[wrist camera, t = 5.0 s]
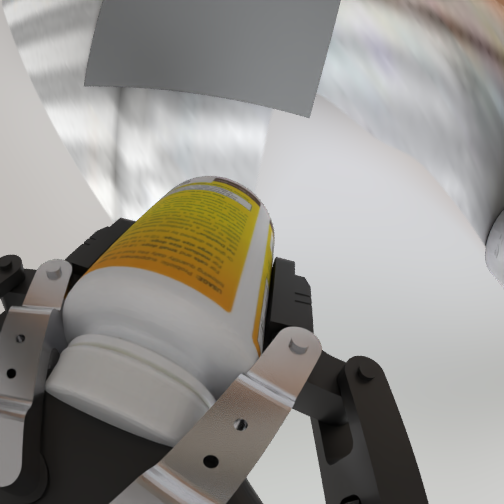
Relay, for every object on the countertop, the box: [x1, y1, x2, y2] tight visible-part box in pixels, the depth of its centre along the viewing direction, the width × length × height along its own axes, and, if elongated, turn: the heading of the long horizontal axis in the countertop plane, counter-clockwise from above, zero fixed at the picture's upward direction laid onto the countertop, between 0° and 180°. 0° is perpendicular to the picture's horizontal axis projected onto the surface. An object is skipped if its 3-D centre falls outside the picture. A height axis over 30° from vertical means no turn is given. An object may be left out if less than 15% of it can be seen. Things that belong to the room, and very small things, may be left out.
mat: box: [84, 0, 341, 118], centre depth 15 cm, size 18×13×1 cm
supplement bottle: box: [45, 176, 274, 447], centre depth 9 cm, size 6×6×10 cm
